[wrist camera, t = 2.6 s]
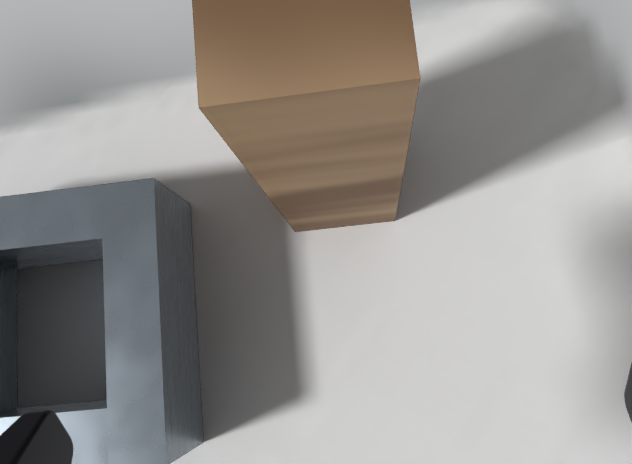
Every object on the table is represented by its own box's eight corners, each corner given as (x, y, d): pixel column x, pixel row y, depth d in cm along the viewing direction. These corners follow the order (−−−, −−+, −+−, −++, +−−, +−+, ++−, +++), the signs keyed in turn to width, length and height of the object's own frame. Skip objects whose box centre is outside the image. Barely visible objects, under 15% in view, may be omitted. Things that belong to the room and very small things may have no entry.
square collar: (203, 442, 22) (166, 465, 18) (-29, 461, 23) (-112, 488, 19) (190, 204, 24) (153, 178, 20) (-26, 229, 25) (-101, 209, 21)
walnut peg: (395, 220, 23) (420, 78, 10) (295, 232, 23) (198, 107, 11) (383, 125, 24) (393, -119, 11) (286, 137, 24) (187, -87, 11)
